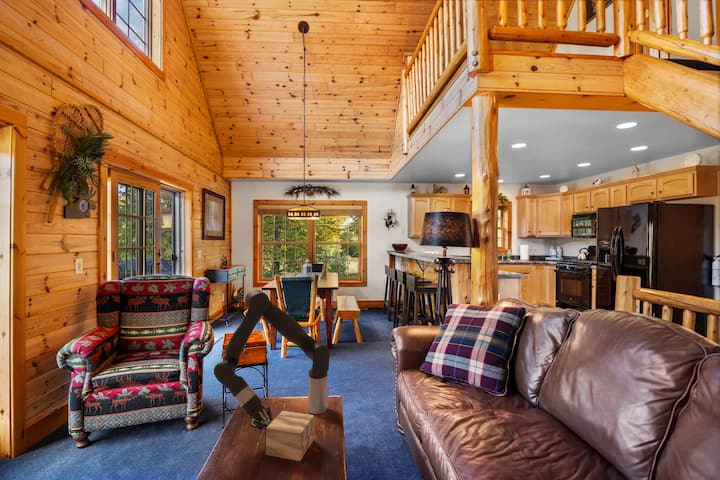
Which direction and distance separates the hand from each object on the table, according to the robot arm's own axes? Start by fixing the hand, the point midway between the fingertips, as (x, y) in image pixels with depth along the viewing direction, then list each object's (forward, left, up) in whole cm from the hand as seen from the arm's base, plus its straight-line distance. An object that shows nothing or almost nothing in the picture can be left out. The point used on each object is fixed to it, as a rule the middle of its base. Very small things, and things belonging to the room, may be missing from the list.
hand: (273, 433), depth 139 cm
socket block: (-2, +7, -4) cm, 9 cm away
